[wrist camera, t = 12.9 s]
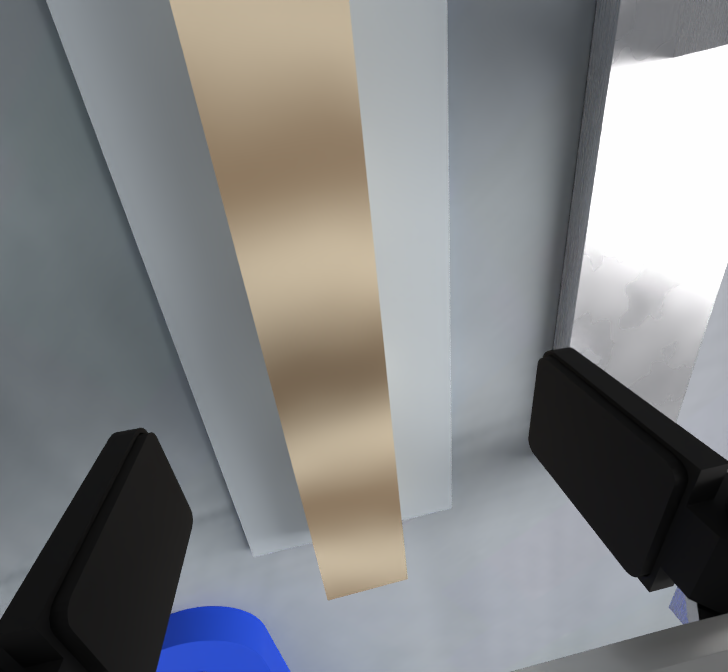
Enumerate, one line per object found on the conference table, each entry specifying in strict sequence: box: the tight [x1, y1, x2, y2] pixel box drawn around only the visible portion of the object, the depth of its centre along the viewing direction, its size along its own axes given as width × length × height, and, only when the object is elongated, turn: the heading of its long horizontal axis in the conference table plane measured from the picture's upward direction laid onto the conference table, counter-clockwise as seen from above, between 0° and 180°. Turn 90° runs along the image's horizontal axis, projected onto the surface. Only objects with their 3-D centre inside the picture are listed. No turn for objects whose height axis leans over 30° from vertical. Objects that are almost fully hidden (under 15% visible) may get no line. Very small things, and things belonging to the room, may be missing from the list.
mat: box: [46, 0, 452, 557], centre depth 17 cm, size 27×12×1 cm, turn 6°
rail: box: [169, 0, 408, 600], centre depth 15 cm, size 25×4×4 cm, turn 7°
